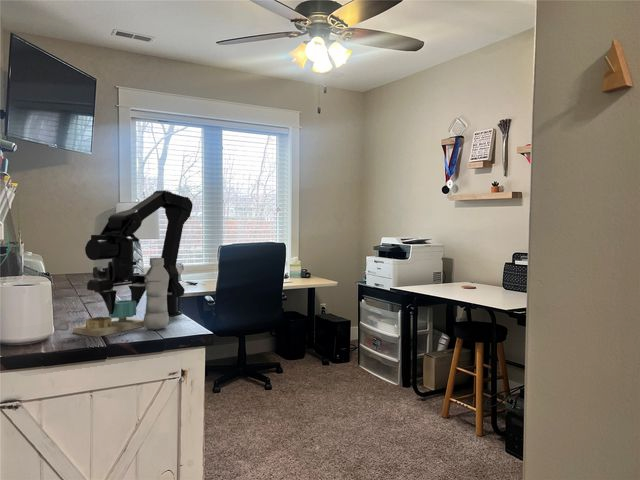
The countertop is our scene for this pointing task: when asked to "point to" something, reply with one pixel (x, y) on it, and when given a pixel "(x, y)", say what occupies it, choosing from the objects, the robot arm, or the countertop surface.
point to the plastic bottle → (156, 295)
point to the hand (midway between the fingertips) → (122, 312)
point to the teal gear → (124, 309)
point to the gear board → (107, 326)
